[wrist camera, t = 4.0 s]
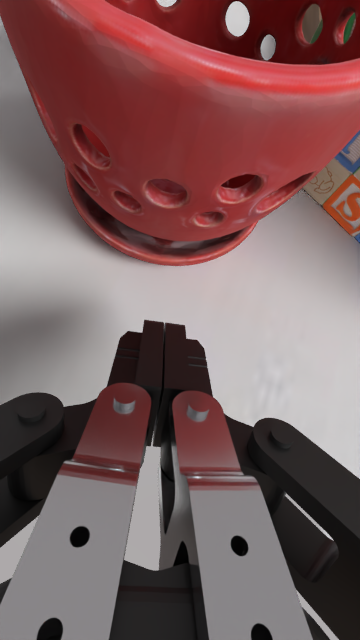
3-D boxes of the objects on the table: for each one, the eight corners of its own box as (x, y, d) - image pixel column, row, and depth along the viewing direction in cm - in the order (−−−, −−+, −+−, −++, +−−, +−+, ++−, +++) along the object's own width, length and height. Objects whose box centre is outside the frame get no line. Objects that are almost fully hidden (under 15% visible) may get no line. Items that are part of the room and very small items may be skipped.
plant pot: (79, 307, 16) (-52, 69, 5) (56, 116, 19) (-58, -300, 8) (296, 276, 19) (551, 72, 7) (243, 111, 22) (362, -210, 10)
